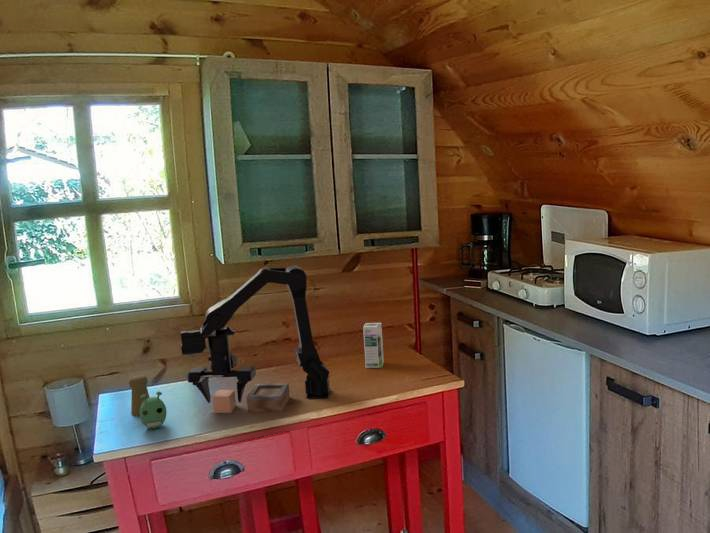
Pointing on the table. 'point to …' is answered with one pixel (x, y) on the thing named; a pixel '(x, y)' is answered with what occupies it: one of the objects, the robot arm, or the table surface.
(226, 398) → the top brick
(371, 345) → the syrup box
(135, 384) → the cork
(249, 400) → the grey square frame
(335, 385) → the table surface
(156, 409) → the alien toy
